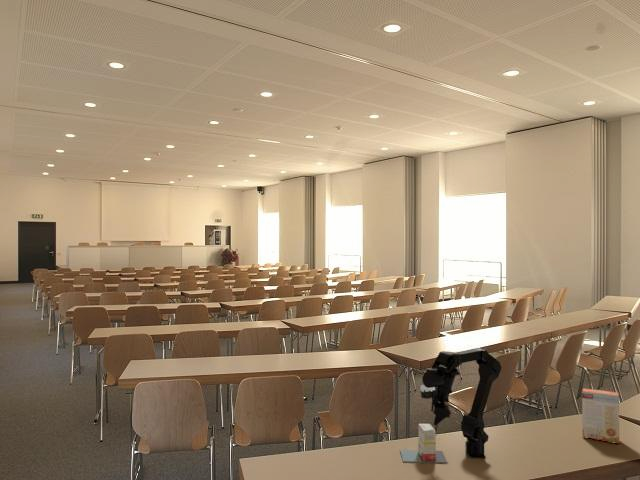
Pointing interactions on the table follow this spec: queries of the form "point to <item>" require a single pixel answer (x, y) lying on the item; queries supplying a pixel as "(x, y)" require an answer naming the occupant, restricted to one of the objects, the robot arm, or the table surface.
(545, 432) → the table surface
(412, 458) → the flat gray angled bracket
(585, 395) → the cracker box
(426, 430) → the ink box
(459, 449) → the table surface
